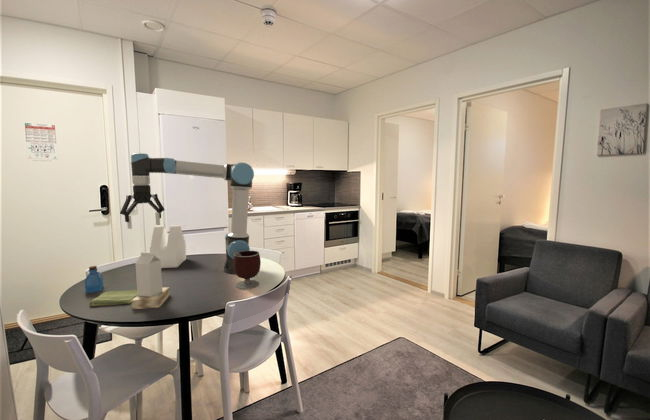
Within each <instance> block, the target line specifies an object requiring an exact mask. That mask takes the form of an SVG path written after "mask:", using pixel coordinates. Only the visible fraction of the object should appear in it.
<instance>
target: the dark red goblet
mask: <svg viewBox="0 0 650 420" xmlns="http://www.w3.org/2000/svg"><path fill="white" fill-rule="evenodd" d="M231 252H233V253H235V254H234V259H233V267H234V272H235V273H234V274H235V276H237V278H240V279H244V280H241V281H238V282H236V283H235V288H236V289H238V290H252V289H255V288H257V287H259V286H260V281H258V280H255V279H252V278H254V277H256V276H257V275H258V274H259V273H260V269H261V263H262V262H261V255H260V252H259V251H257V250H250V251H240V252H235V251H231Z"/></svg>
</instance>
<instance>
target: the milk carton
mask: <svg viewBox="0 0 650 420" xmlns="http://www.w3.org/2000/svg"><path fill="white" fill-rule="evenodd" d="M134 264H135V276H136V277H135V281H136V290H137V294H138V296H147V297H152V296H154V295H156V294H158V293H160V292H162V291H163V290H162V288H163V280H162V279H163V277H162V268H161V260H160V259H159V258H157V257H156V256H155V254H154V253H150V252H140V256H139V257H138V259H137V260H136V261H135V263H134Z"/></svg>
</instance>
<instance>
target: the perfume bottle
mask: <svg viewBox="0 0 650 420" xmlns="http://www.w3.org/2000/svg"><path fill="white" fill-rule="evenodd" d="M103 279H104V278H103V274H102V273H101V272H100V271H98V268H97V265H93V266H92V265H91V266H89V267H88V274H87V276H86V278H85V279H84V288H85V294H89V293H97V292H102V291H103V288H104V280H103Z"/></svg>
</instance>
